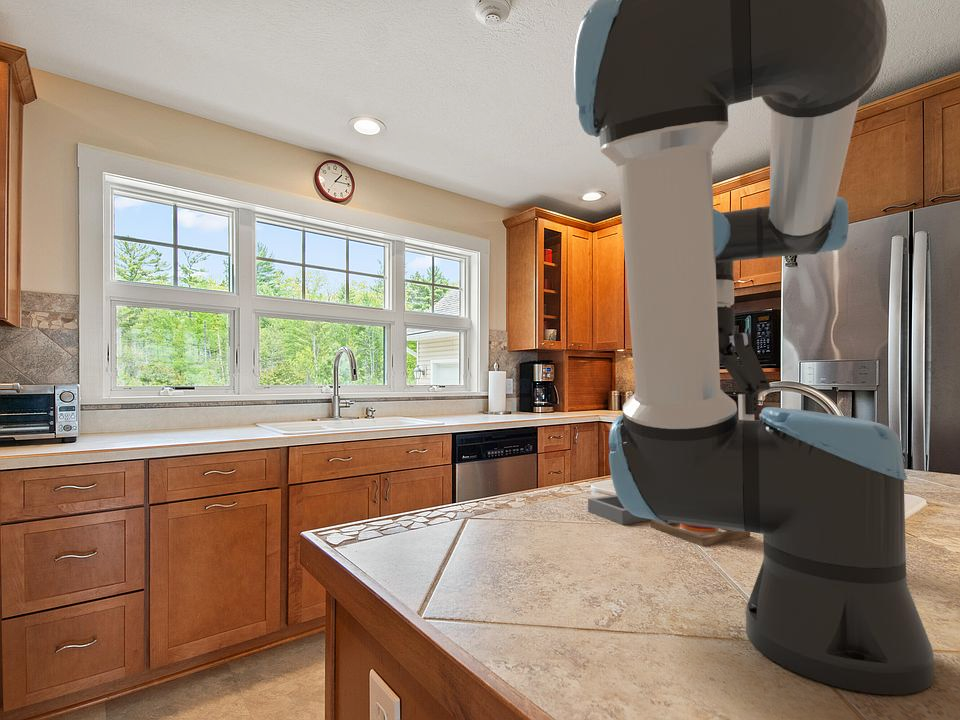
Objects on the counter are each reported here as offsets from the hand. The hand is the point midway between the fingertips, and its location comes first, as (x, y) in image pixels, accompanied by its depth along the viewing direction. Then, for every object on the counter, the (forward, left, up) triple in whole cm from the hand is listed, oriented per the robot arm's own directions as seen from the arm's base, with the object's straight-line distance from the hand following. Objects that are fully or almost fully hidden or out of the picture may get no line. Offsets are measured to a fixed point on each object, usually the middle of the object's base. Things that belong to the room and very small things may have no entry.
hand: (712, 430), depth 89 cm
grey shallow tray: (-1, +15, -17) cm, 23 cm away
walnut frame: (-2, +1, -17) cm, 17 cm away
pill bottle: (-2, +1, -18) cm, 18 cm away
